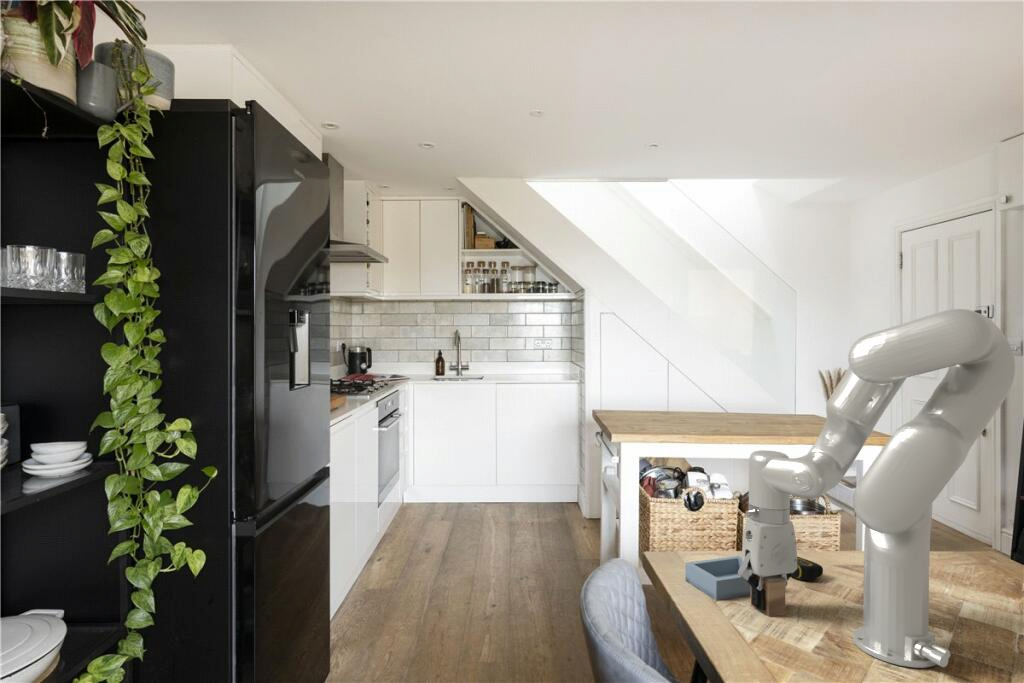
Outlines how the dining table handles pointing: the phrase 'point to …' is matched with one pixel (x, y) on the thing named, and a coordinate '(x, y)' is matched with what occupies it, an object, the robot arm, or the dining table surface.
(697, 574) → the container
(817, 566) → the tape measure
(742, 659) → the dining table surface
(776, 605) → the wooden rectangular block
